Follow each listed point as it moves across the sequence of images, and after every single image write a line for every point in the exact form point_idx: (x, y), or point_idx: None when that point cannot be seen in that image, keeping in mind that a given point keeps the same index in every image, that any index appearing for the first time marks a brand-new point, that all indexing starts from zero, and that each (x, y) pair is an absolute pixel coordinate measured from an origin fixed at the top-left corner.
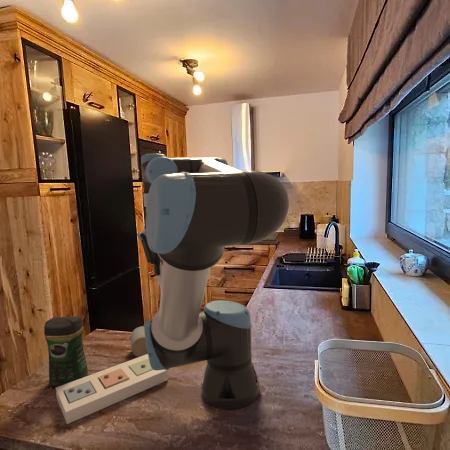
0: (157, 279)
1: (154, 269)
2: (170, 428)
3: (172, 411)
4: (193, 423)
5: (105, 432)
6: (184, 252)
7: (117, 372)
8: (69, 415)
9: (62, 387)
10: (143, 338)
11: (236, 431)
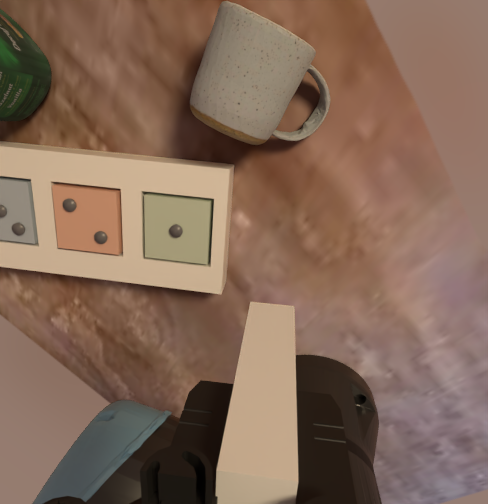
0: (245, 328)
1: (174, 437)
2: (150, 397)
3: (175, 370)
4: None
5: (52, 325)
6: None
7: (102, 206)
8: None
9: None
10: (224, 129)
11: None
